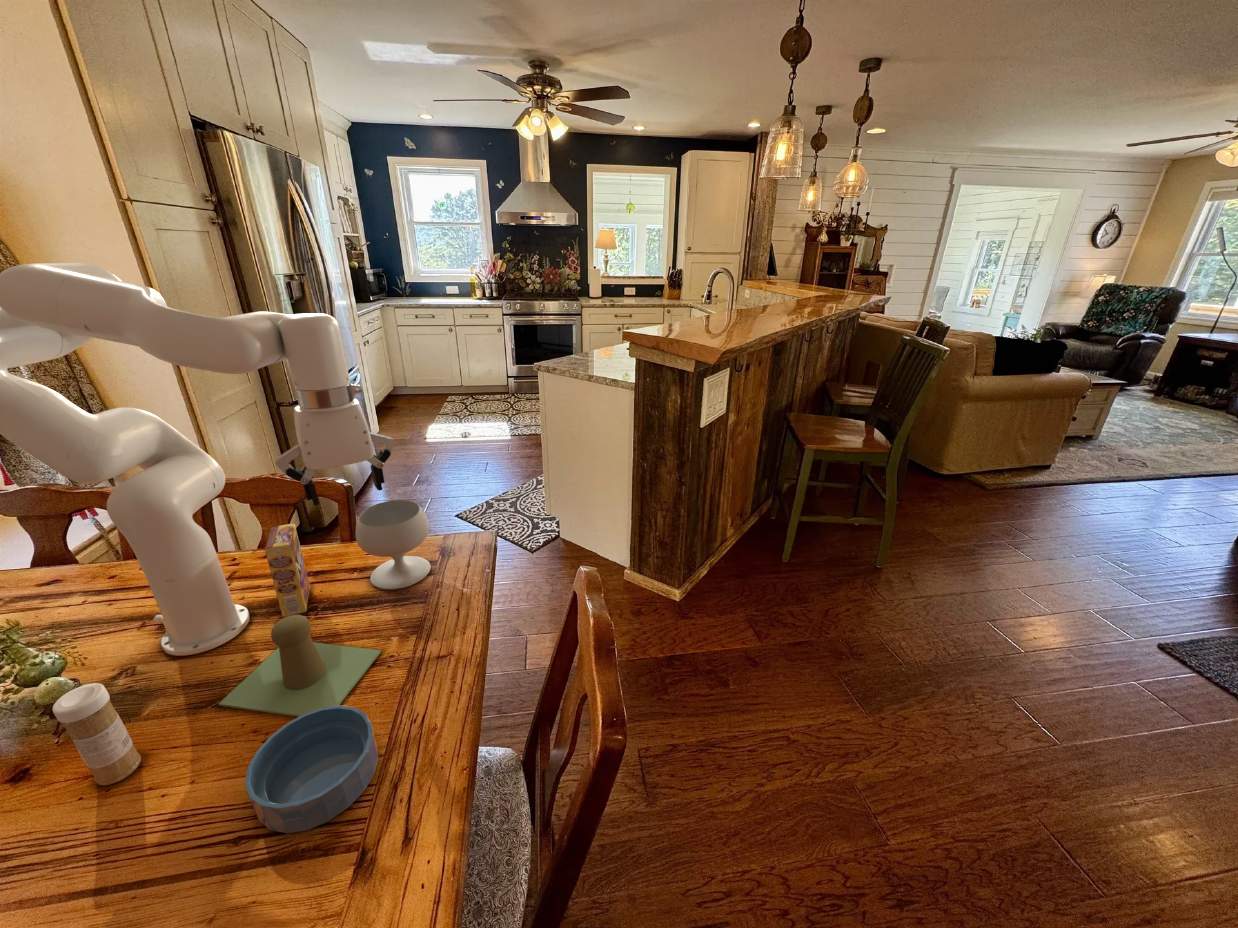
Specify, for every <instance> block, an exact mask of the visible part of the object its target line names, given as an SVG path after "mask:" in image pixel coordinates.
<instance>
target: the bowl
mask: <svg viewBox="0 0 1238 928" xmlns="http://www.w3.org/2000/svg"><path fill="white" fill-rule="evenodd" d="M367 715H368V714H366V713H365V712H363V711H361V710H360V709H358V708H357V707H354V706H347V705H341V704H340V705H339V706H331V707H323V708H320V709H317V710H314V711H311V712H308V713H305V714H303V715H301V716H300V717H296V718H294V719H292V720H291V721H289V722H287V723H285V724H284V725H283V726H281V728H279V729H278V730H276V731H275V732H274V733H273V734H271V735H270V736H269V737H268V738H267V739H266V740H265V741H264V742H263V744H262V745H261V746H260V747H259V748H258V749H257V751H256V752H255V754H254V755H253V757H252V758H251V761H250V763H249V764H248V767H247V769H246V774H245V781H244V786H245V789H246V792H247V795H248V798H249V800H250V803H251V805H252V808H253V809H254V812H255V815H256V817H257V820H258V822H259V823H260V824H262V825H263V826H264V827H266V828H267V829H268V830H270V831H272V832H276V833H277V832H278V833H284V834H293V833H297V832H305V831H309V830H312V829H314V828H316V827H318V826H321V825H323V824H326V823H327V822H329V821H331V820H332V819H334V818H335V817H338V815H340V814H342V812H344V811H346V810H347V809H348V808H349V807H351V806H352V805H353V804H354V803H355V801H356V800H357V799H358V798H359V797H360V796H361V795H363V793H364V792H365V790H366V789H367V788H368V786H369V784H370V782H371V781H372V779H373V777H374V776H375V773H376V769H377V765H378V762H379V749H378V743H377V739H376V736H375V731H374V727H373V724H372V721H371V720H370V718H369V717H368V716H367Z"/></svg>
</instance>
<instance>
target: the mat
mask: <svg viewBox="0 0 1238 928" xmlns="http://www.w3.org/2000/svg"><path fill="white" fill-rule="evenodd" d="M313 642H314V641H313ZM314 644H315V646H316V648H317V650H318V652H319V654H320V656H321V658H322V660H323V662H324V664H325V666H326V672H325V674H324V676H323V677H322V678H321V679H320V680H319V681H318V682H317V683H315V684H313V685H312V686H310V687H307V688H305V689H301V690H289V689H286V688H285V686H284V684H283V676H282V668H281V660H280V652H279V646H277V648H276V649H275V650H274V651H273V652H272V653H271V654H269V656H267V657H266V658H265V660H263V661H262V662H261V663H260V664H259V665H258V666H257V667H256V668H255V669H254V670H253V671H252V672H250V673H249V674H248V676H246V677H245V678H244V679H243V680H242V681H241V682H240V683H239V684H238V685H237V686H236V687H234V688H233V690H231V691H230V692H229V693H228V694H227V695H226V696H225V697H224V698H223V699H221V701H220V702H219V703H218V706H220V707H226V708H232V709H241V710H246V711H254V712H260V713H267V714H275V715H283V716H290V717H296V718H298V717H300V716H301V715H303V714H305V713H308V712H311V711H314V710H317V709H320V708H323V707H331V706H339V705H340V706H341V704H342V702H343V701H344V700H345V699H346V698H347V696H348V695H349V693H351V691H352V690H353V689H354V688H355V686H356V685H357V683H358V682H359V681H360V680H361V679H362V677H363V676H364V675H365V673H366V672H367V671H368V670H369V668H370V667H371V666H372V665H373V663H374V662H375V661H376V659H377V658H378V657H380V654H382V650H381V649H373V648H363V647H357V646H356V647H355V646H347V645H339V644H332V643H331V644H330V643H324V642H323V643H322V642H314Z"/></svg>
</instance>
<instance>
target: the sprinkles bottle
mask: <svg viewBox="0 0 1238 928" xmlns="http://www.w3.org/2000/svg"><path fill="white" fill-rule="evenodd" d="M51 710H52V713H53V714H54V716H55V718H56V720H57V721H58V722H59V723H61V724H62V725H63V727H64V729H65V731H67V734H68V736H69V738H70V739H71V741H72V743H73V744H74V746H75V748H76V751H77V752H78V754H79V756H80V757H81V759H82V761H83V762H84V764H85V765H86V767H87V768H88V769H89V771H90V772H91V774H92V776H93V777H94V782H95V783H96V784H97V785H100V786H108V785H112V784H115V783H118V782H120V781H122V780H124V779H126V778H127V777H129V776H130V775H131V774H132V773H134V771H136V770H137V769H138V767H139V765H140V764H141V761H142V756H141V754H140V753H139V752H138V750H137V749H136V746H135V745H134V743H133V739H132V738H131V736H130V733H129V732H128V730H127V728H126V726H125V725H124V723H123V721H122V718H121V717H120V715H119V714H118V712H117V711H116V709H115V707H114V706H113V704H112V702H111V698H110V694H109V692H108V691H107V688H106V687H105V685H104V684H102V683H99V682H94V683H87V684H83V685H80V686H78V687H76V688H73V689H71V690H70V691H67V692H66V693H64V694H63V695H62V696H61V697H59V698H58V699H57V700H56V701H55V703H53V705H52V709H51Z"/></svg>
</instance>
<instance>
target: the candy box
mask: <svg viewBox="0 0 1238 928" xmlns="http://www.w3.org/2000/svg"><path fill="white" fill-rule="evenodd" d="M298 535H299V534H298V531H297V527H296V523H287V524H282V525H277V526H271V528H270V531H269V535H268V537H267V541H266V544H265V547H264V552H265V556H266V560H267V563H268V567H269V571H270V576H271V578H272V582H273V587H274V590H275V594H276V597H277V602H278V605H279V609H280V612H281V616H282V618H285V617H288V616H292V615H301V614H304V613H307V609H308V601H309V594H310V589H311V584H310V581H309V577H308V572H307V568H306V565H305V559H304V556H303V552H302V548H301V544H300V540H299V536H298Z"/></svg>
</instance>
